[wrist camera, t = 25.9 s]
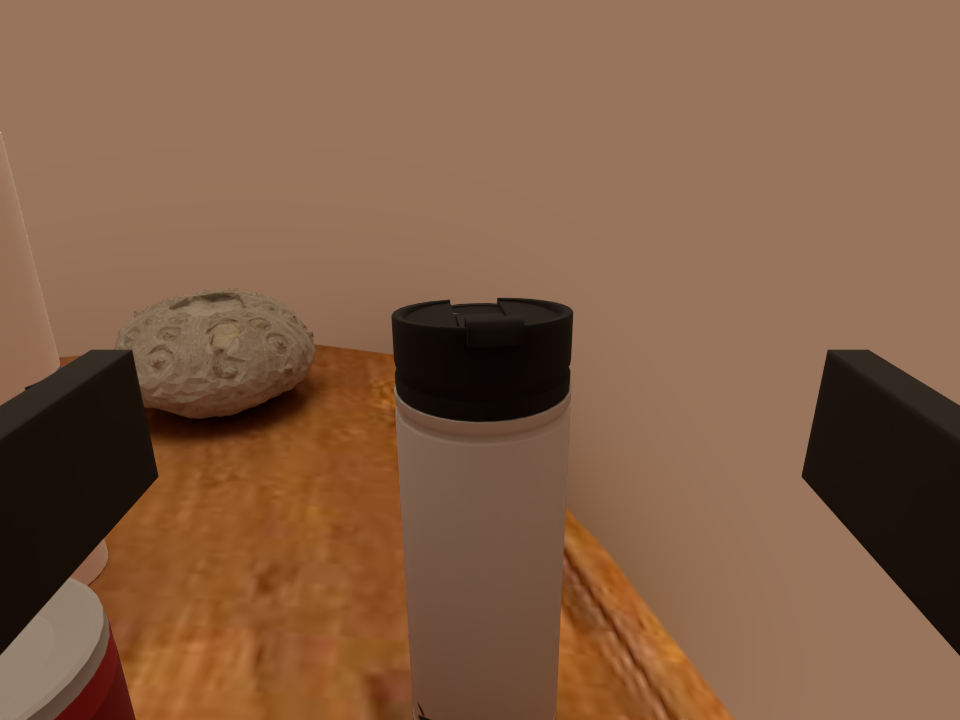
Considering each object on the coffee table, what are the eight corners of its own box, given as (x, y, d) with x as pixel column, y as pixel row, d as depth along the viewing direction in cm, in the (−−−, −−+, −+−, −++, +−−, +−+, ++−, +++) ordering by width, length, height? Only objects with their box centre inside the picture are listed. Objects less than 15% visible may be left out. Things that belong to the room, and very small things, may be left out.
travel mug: (416, 814, 25) (386, 328, 18) (413, 677, 31) (389, 275, 24) (572, 794, 26) (602, 319, 19) (539, 664, 32) (552, 269, 25)
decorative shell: (354, 394, 63) (346, 296, 60) (177, 464, 51) (153, 345, 47) (255, 354, 74) (244, 269, 71) (89, 404, 62) (65, 303, 58)
